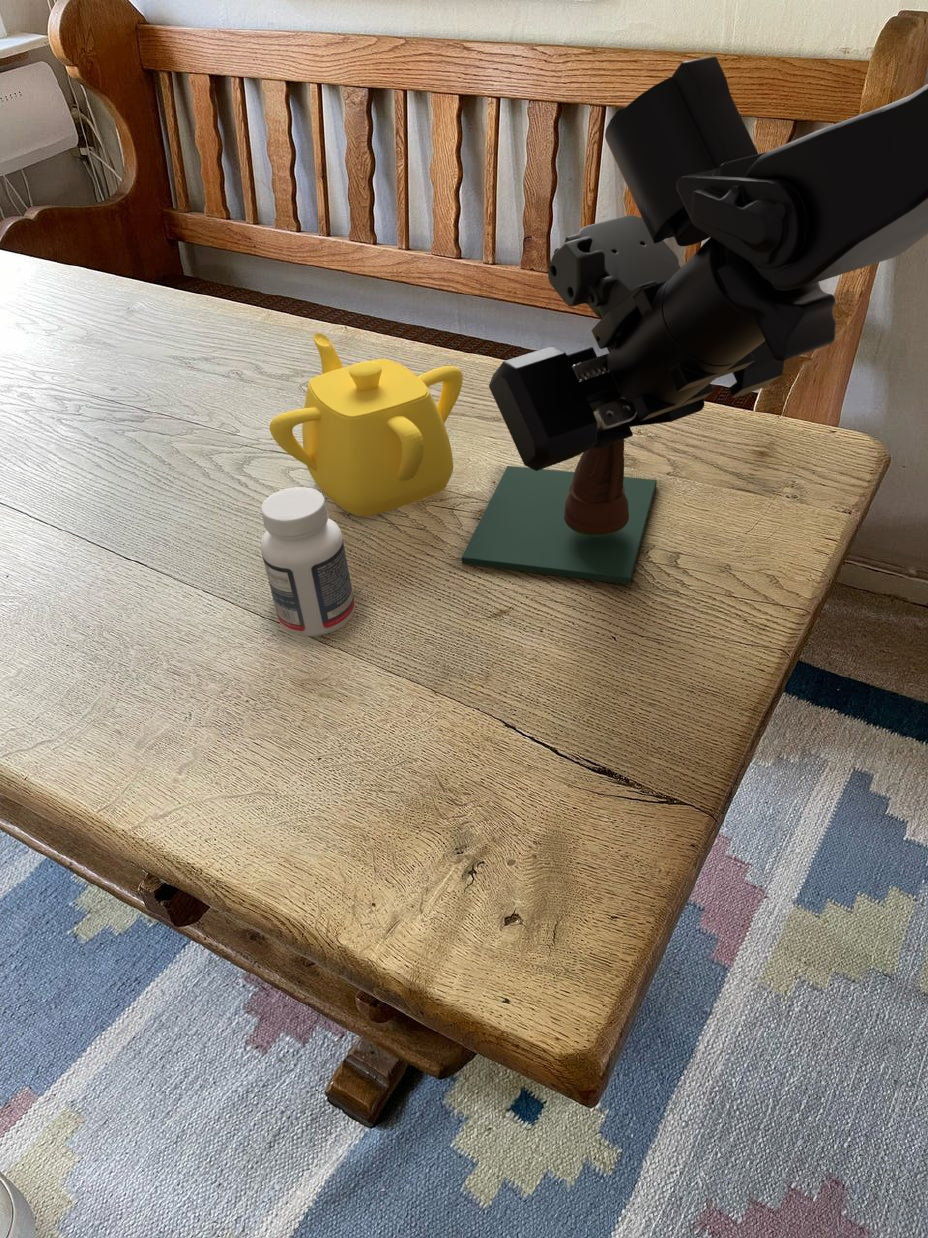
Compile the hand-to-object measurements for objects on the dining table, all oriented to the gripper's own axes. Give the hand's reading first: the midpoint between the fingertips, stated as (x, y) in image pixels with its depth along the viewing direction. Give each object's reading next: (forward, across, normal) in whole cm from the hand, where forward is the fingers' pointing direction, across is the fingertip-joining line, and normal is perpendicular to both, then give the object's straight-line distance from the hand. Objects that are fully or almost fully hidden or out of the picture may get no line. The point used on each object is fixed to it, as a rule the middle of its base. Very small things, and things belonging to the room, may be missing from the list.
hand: (584, 426), depth 65 cm
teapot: (+17, +9, -5) cm, 20 cm away
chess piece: (+4, 0, +6) cm, 7 cm away
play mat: (+7, +1, +5) cm, 9 cm away
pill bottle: (+8, +20, +4) cm, 22 cm away
